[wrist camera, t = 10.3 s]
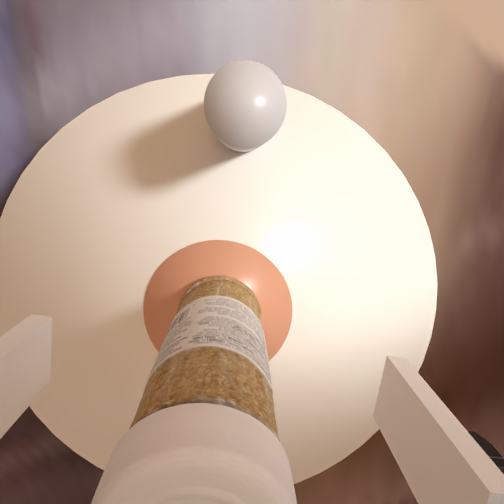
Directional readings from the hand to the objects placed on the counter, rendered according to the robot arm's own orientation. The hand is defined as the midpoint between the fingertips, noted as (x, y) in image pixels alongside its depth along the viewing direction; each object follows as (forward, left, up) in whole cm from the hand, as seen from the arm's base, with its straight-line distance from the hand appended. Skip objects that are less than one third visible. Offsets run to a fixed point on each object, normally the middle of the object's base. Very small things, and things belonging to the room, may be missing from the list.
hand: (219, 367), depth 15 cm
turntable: (0, 0, -9) cm, 9 cm away
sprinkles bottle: (0, 0, -6) cm, 6 cm away
